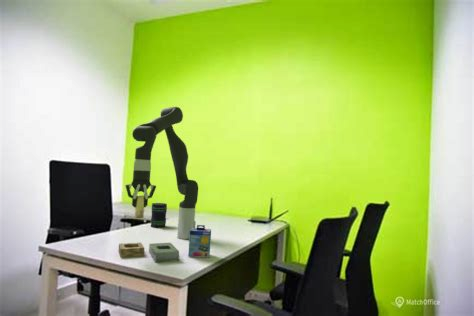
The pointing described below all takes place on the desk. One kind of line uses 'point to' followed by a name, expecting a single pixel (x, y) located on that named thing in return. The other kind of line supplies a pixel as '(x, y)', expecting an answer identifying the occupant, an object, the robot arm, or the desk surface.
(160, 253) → the block with square hole
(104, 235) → the desk surface
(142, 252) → the socket block
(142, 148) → the robot arm
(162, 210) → the storage jar
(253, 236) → the desk surface
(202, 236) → the ink cartridge box
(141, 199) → the axle
